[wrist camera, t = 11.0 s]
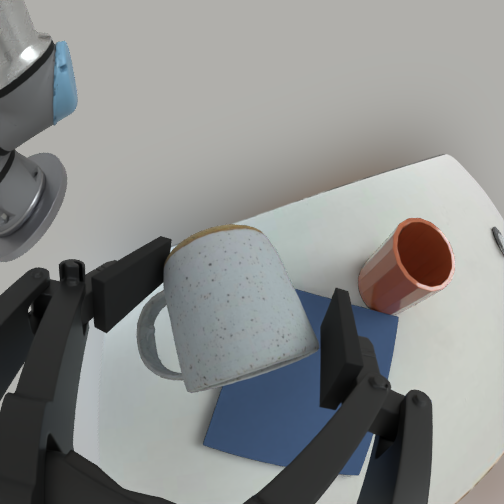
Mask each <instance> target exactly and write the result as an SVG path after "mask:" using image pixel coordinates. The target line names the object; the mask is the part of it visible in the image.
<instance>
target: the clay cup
mask: <svg viewBox="0 0 504 504" xmlns="http://www.w3.org/2000/svg"><path fill="white" fill-rule="evenodd" d="M454 271H455V257H454V253H453V250H452V248H451V245H450V242H449V241H448V239H447V238H446V236H445V235H444V234H443V232H442V231H441V230H440V229H439V228H437V227H436V226H435V225H434V224H433V223H431V222H429V221H426V220H424V219H421V218H409V219H407V220H405V221H403V222H402V223H400V224H399V225H398V226H397V227H396V228H395V230H394V231H393V232H392V233H391V234H390V235H389V237H388V238H387V239H386V240H385V241H384V242H383V243H382V245H381V246H380V247H379V248H378V249H377V250H376V251H375V252H374V254H373V255H372V256H371V257H370V258H369V259H368V260H367V261H366V263H365V264H364V265H363V267H362V269H361V271H360V273H359V277H358V287H359V292H360V295H361V297H362V299H363V301H364V302H365V304H366V305H367V306H368V307H369V308H370V309H371V310H374V311H378V312H382V313H386V314H389V315H396V314H398V313H401V312H403V311H405V310H407V309H409V308H411V307H412V306H414V305H416V304H418V303H420V302H421V301H423V300H425V299H427V298H429V297H430V296H432V295H434V294H436V293H437V292H439V291H441V290H442V289H444V288H445V287H446V286H447V285H448V284H449V283H450V282H451V280H452V277H453V274H454Z"/></svg>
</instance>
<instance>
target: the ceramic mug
mask: <svg viewBox="0 0 504 504" xmlns="http://www.w3.org/2000/svg"><path fill="white" fill-rule="evenodd" d="M163 286H164V290H163V291H161V292H159V293H157V294H156V295H155V296H153V297H152V298H151V299H150V300H149V301H148V302H147V303H146V304H145V306H144V307H143V309H142V311H141V314H140V316H139V320H138V323H137V344H138V350H139V353H140V356H141V359H142V361H143V362H144V364H145V365H146V367H147V368H148V369H149V370H151V371H152V372H153V373H155V374H156V375H158V376H160V377H162V378H165V379H170V380H184V384H185V386H186V389H187V391H188V392H190V393H194V392H199V391H204V390H208V389H213V388H217V387H221V386H225V385H229V384H233V383H235V382H238V381H242V380H246V379H249V378H252V377H255V376H258V375H261V374H264V373H268V372H270V371H273V370H276V369H278V368H281V367H284V366H286V365H289V364H291V363H294V362H297V361H299V360H301V359H303V358H305V357H308V356H309V355H312V354H313V353H315V352H317V351H318V349H319V342H318V340H317V338H316V335H315V333H314V331H313V329H312V327H311V324H310V322H309V320H308V318H307V315H306V313H305V311H304V309H303V306H302V304H301V302H300V299H299V297H298V295H297V293H296V291H295V289H294V287H293V285H292V283H291V281H290V278H289V276H288V274H287V271H286V269H285V267H284V264H283V262H282V260H281V258H280V256H279V254H278V252H277V250H276V249H275V247H274V246H273V245H272V243H271V242H270V240H269V239H268V237H267V236H266V235H265V234H263V233H262V232H261V231H260V230H258V229H256V228H254V227H250V226H246V225H233V224H228V225H222V226H216V227H211V228H208V229H206V230H203V231H200V232H198V233H195V234H193V235H191V236H190V237H188V238H187V239H185V240H184V241H182V242H181V243H179V244H178V245H177V246H176V247H175V248H174V249H173V250H172V251H171V253H170V254H169V256H168V257H167V259H166V261H165V264H164V285H163ZM166 305H167V308H168V312H169V316H170V320H171V326H172V331H173V336H174V341H175V345H176V350H177V355H178V359H179V364H180V368H181V372H182V373H177V372H173V371H170V370H169V369H167V368H166V367H164V366H163V364H162V363H161V360H160V359H159V358H158V354H157V349H156V343H155V335H154V333H155V328H154V322H155V319H156V317H157V315H158V314H159V312H160V311H161V309H162V308H164V307H165V306H166Z"/></svg>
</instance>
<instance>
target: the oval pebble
mask: <svg viewBox="0 0 504 504" xmlns="http://www.w3.org/2000/svg"><path fill="white" fill-rule="evenodd" d="M493 233H494V236H495V238H496V240H497V242H498V245H499V247H500V249H501V250H502V252H503V254H504V238H503V236H502V235H501V233H500V232H499V230H498V229H497V228H496V227H493Z"/></svg>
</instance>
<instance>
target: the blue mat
mask: <svg viewBox="0 0 504 504" xmlns="http://www.w3.org/2000/svg"><path fill="white" fill-rule="evenodd" d="M295 291H296V293H297V295H298V297H299V299H300V302H301V304H302V306H303V309H304V311H305V313H306V315H307V318H308V320H309V322H310V324H311V327H312V329H313V331H314V333H315V335H316V338H317V340H318V342H319V349H318V351H317V352H315V353H313V354H312V355H309V356H308V357H305V358H303V359H301V360H299V361H297V362H294V363H291V364H289V365H286V366H284V367H281V368H278V369H276V370H273V371H270V372H268V373H264V374H261V375H258V376H255V377H252V378H249V379H246V380H242V381H238V382H235V383H233V384H229V385H225V386H222V389H221V392H220V395H219V398H218V401H217V404H216V407H215V410H214V413H213V416H212V419H211V422H210V425H209V428H208V431H207V434H206V436H205V439H204V442H203V445H205V446H208V447H211V448H214V449H217V450H220V451H223V452H227V453H230V454H234V455H237V456H241V457H245V458H249V459H253V460H257V461H261V462H265V463H270V464H275V465H279V466H285V467H286V466H288V465H289V464H290V463H291V462H292V461H293V460H294V459H295V457H296V456H297V455H298V454H299V453H300V452H301V451H302V450H303V449H304V448H305V447H306V446H307V445H308V444H309V443H310V442H311V441H312V439H313V438H314V437H315V436H316V435H317V434H318V433H319V432H320V430H321V429H322V428H323V427H324V426H325V425H326V424H327V422H328V421H329V420H330V419H331V418H332V416H333V415H334V414H335V413H336V412H337V410H338V409H339V408H340V407H341V403H340V405H339V406H338V408H337V409H336V410H331V409H326V408H321V407H319V405H320V326H321V324H322V321H323V319H324V316H325V314H326V312H327V309H328V307H329V304H330V302H331V299H330V298H326V297H322V296H319V295H315V294H312V293H308V292H304V291H301V290H297V289H295ZM351 306H352V310H353V314H354V319H355V324H356V328H357V333H358V336H362V337H366V338H368V339H369V340H370V341H371V343H372V344H373V346H374V350H375V354H376V358H377V362H378V366H379V370H380V374H381V375H382V376H384V377H385V378H387V380H388V376H389V371H390V366H391V361H392V356H393V350H394V345H395V339H396V332H397V325H398V318H399V317H397V316H393V315H389V314H386V313H382V312H378V311H374V310H370V309H367V308H363V307H359V306H355V305H352V304H351ZM372 436H373V433H371V432H368V431H367V433H366V435H365V436H364V438H363V439H362V441H361V442H360V444H359V446H358V447H357V449H356V450H355V452H354V453H353V455H352V456H351V457H350V459H349V460H348V462H347V463H346V465H345V466H344V467H343V469H342V470H341V472H340V473H339V474H344V475H359V474H360V471H361V468H362V466H363V463H364V460H365V457H366V454H367V452H368V449H369V446H370V443H371V439H372Z"/></svg>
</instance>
